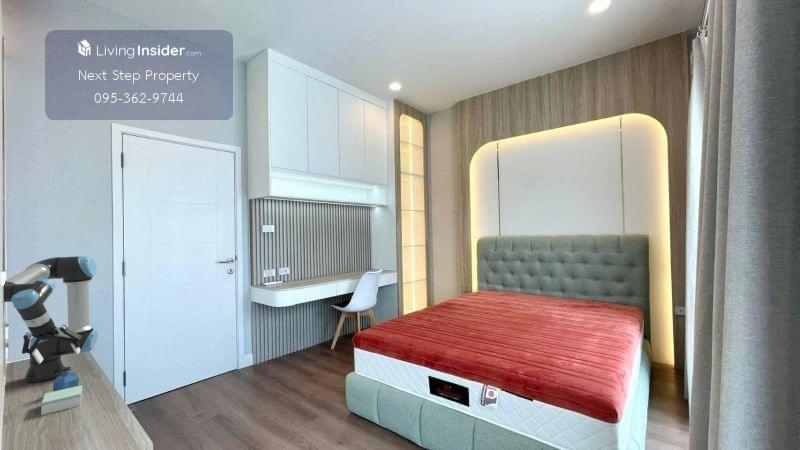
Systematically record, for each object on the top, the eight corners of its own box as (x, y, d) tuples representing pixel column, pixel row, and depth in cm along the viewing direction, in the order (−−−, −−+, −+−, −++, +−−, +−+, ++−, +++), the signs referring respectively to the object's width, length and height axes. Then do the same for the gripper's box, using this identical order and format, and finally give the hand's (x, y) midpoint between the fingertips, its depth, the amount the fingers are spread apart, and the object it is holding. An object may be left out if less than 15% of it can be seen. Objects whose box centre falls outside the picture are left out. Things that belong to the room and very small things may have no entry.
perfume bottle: (63, 396, 158) (63, 370, 159) (53, 395, 159) (53, 369, 160) (78, 390, 164) (78, 365, 165) (68, 389, 166) (68, 364, 166)
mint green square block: (45, 404, 150) (45, 393, 151) (81, 395, 158) (82, 385, 159) (41, 415, 141) (41, 403, 142) (80, 405, 149) (80, 393, 150)
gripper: (-5, 336, 139) (20, 371, 149) (72, 320, 149) (90, 354, 158) (5, 324, 146) (28, 359, 155) (78, 309, 155) (96, 343, 164)
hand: (60, 356), depth 157 cm, fingers open, 13 cm apart
